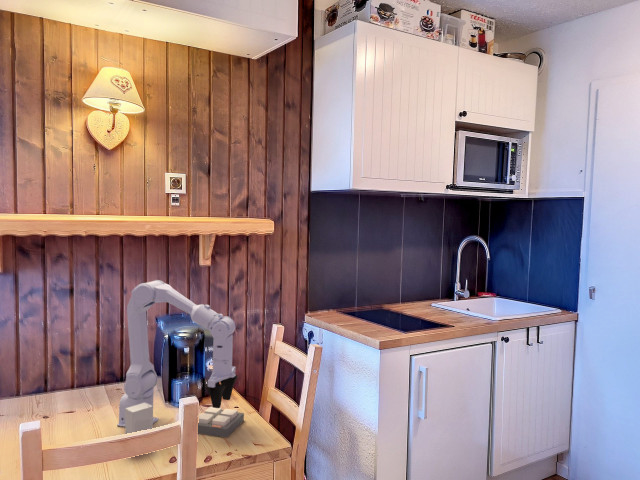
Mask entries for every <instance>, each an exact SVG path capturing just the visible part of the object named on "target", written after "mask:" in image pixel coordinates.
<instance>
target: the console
mask: <svg viewBox="0 0 640 480" xmlns="http://www.w3.org/2000/svg"><path fill="white" fill-rule="evenodd" d="M224 410H225V409H224ZM224 410H223V409H222V412H223V411H224ZM202 413H204V411H203V412H202ZM214 418H215V417H214ZM244 419H245V413H244V412H239V411H238V415H237V416H236V417H235V418H234V419H233V420H230V423H229V424H227V425H226V426H225V427H222V426H217V425H212V422H211V423H209V424H201V423H198V433H197V434H200V435H206V436H207V435H208V436H212V437H213V436H214V437H221V438H228V437H229V436H230V435H231V434H232V433H233V432H234V431H235V430H236V429H237V428H238V427H240V425H241V424H242V423H243V422H244V421H245V420H244Z"/></svg>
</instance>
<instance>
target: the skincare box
mask: <svg viewBox="0 0 640 480" xmlns="http://www.w3.org/2000/svg"><path fill="white" fill-rule="evenodd" d="M153 417H154V405H153V406H151V405H149V404H147V403H145V402H144V403H141V404H138V405H135V406H132V407H128V408H125V427H124V435H125V434H127V433H132V432H137V431H141V430H147V429H152V428H153V429H154V423H153Z"/></svg>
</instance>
